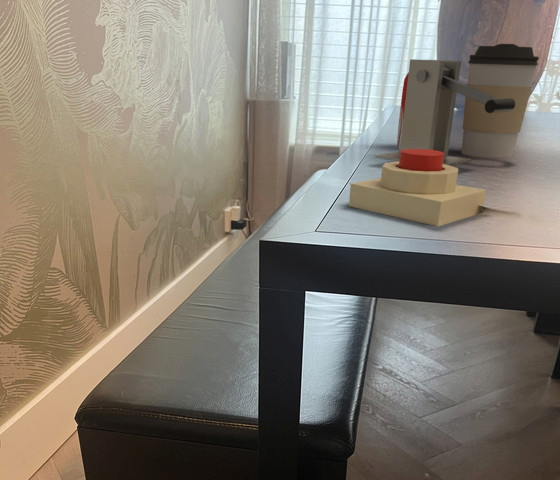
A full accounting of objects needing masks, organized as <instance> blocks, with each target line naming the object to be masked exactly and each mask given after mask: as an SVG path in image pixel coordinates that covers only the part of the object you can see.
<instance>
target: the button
mask: <svg viewBox="0 0 560 480" xmlns="http://www.w3.org/2000/svg"><path fill="white" fill-rule="evenodd" d="M399 152H400V160H399V168H400V169H406V170H412V171H442V166H443V159H444V153H443V152H441V151H436V150H428V149H404V150H401V151H400V150H399Z"/></svg>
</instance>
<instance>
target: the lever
mask: <svg viewBox="0 0 560 480" xmlns="http://www.w3.org/2000/svg"><path fill="white" fill-rule="evenodd" d="M450 71H451V70H450V69H447V68H445V67H444V70H443V77H442V85H441V90H443V89H444V87H446V88H449V89H451V90H453V91H455V92H457V94H460V95H462V96H464V97H465V96H466V97H468V98H471V99H473V100H475V101H477V102H480V103H482V104H484V105H485V111H486V112H487V113H498V112H509V111H512V110H513V109H514V107H515V101H514V100H513V99H498V98H495V97H493V96H491V95H489V94H486V93H484V92H482V91H479V90H477V89H475V88H473V87H470V86H468V85H467V83H463V82H461V81H457V80H455V79H452V78H450V77H448V76H449V73H450Z"/></svg>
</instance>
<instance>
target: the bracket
mask: <svg viewBox="0 0 560 480" xmlns="http://www.w3.org/2000/svg"><path fill="white" fill-rule="evenodd" d="M444 67H445V68H447V69H450V70H451V71H450V73H449V76H448V77H450V78H452V79H455V80H457V81H459V80H460V73H461V67H462V61H461V60H451V59H450V60H448V59H447V60H446V59H445V60H444V59H415V58H413V59H409V66H408V72H409V74H408V73H407V74H408V83H407V91H406V100H405V109H404V118H403V127H402V136H401V144H400V149H399V151H394V152H388V153H381V154H375V156H374V158H376V159H382V160H389V161H393V162H396V161H399V160H400V151H401V150H404V149H428V150H436V151H441V152H443V153H444V159H443V164H445V165H450V166H455V165H461V164H466V163H471V162H472V159H471V158H466V157H458V156H451V155H448V153H449V147H450V141H451V133H452V127H453V120H454V113H455V106H456V100H457V94H458V93H457V92H455V91H453V90H451V89H449V88H446V87H444V89H443V90H441V85H442V77H443V70H444ZM459 82H460V81H459Z"/></svg>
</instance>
